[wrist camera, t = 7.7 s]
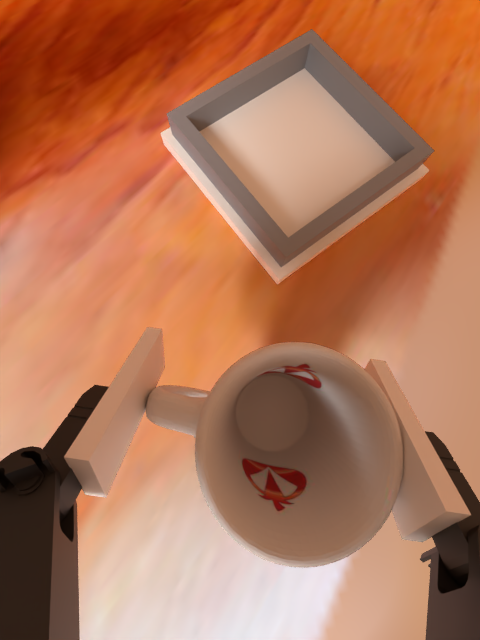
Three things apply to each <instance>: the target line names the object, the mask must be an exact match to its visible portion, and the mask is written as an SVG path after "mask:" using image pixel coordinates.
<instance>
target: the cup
mask: <svg viewBox="0 0 480 640" xmlns="http://www.w3.org/2000/svg"><path fill="white" fill-rule="evenodd" d="M146 415H147V418H148V419H149V420H150V421H151V422H153V423H154V424H156V425H159V426H161V427H164V428H167V429H171V430H175V431H178V432H182V433H186V434H189V435H193V436H194V437H195V438H196V439H195V461H196V470H197V475H198V480H199V483H200V487H201V490H202V493H203V495H204V498H205V500H206V502H207V504H208V506H209V508H210V510H211V512H212V514H213V515H214V517H215V519H216V520H217V521H218V523H219V524H220V525H221V527H222V528H223V529H224V530H225V531H226V532H227V534H228V535H229V536H231V537H232V538H233V539H234V540H235V541H236V542H237V543H238V544H239V545H241V546H242V547H243V548H245V549H246V550H248V551H249V552H251V553H253V554H254V555H256V556H258V557H260V558H262V559H264V560H267V561H270V562H273V563H276V564H279V565H284V566H289V567H304V568H305V567H317V566H322V565H327V564H330V563H333V562H336V561H339V560H341V559H343V558H345V557H348V556H349V555H351V554H352V553H354V552H356V551H357V550H359V549H360V548H361V547H363V546H364V545H365V544H366V543H367V542H369V541H370V540H371V539H372V538H373V537H374V535H375V534H376V533H377V532H378V531H379V530H380V529H381V527H382V525H383V524H384V523H385V521H386V520H387V518H388V516H389V515H390V512H391V510H392V508H393V506H394V504H395V502H396V499H397V496H398V493H399V489H400V485H401V480H402V474H403V444H402V438H401V432H400V428H399V424H398V421H397V418H396V415H395V413H394V411H393V408H392V406H391V404H390V402H389V400H388V399H387V397H386V395H385V394H384V392H383V391H382V389H381V388H380V386H379V385H378V384H377V382H376V381H375V380H374V379H373V378H372V377H371V375H370V374H369V373H368V372H367V371H365V370H364V369H363V368H362V367H361V366H360V365H358V364H357V363H356V362H355V361H353V360H352V359H350V358H348V357H347V356H345V355H344V354H342V353H339V352H337V351H335V350H333V349H330V348H328V347H325V346H321V345H317V344H313V343H306V342H283V343H277V344H272V345H268V346H265V347H262V348H260V349H257V350H255V351H253V352H251V353H249V354H247V355H246V356H244V357H242V358H241V359H240V360H238V361H237V362H236V363H234V364H233V365H232V366H231V367H230V368H229V369H228V370H227V371H226V372H225V373H224V374H223V375H222V376H221V377H220V378H219V380H218V381H217V382H216V383H215V385H214V387H213V388H212V390H211V391H210V392H209V391H205V390H200V389H195V388H190V387H183V386H173V385H163V386H158V387H156V388H154V389H153V390H152V391H151V393H150V395H149V397H148V400H147V405H146Z"/></svg>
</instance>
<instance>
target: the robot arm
mask: <svg viewBox="0 0 480 640" xmlns="http://www.w3.org/2000/svg"><path fill="white" fill-rule="evenodd" d="M164 367H165V360H164V347H163V334H162V329H158V328H151V327H147V328H146V330H145V332H144V333H143V335H142V336H141V338H140V339H139V341H138V342H137V344H136V346H135V347H134V349H133V350H132V352H131V353H130V355H129V356H128V358H127V360H126V361H125V363H124V364H123V366H122V367H121V369H120V370H119V372H118V374H117V375H116V377H115V378H114V380H113V381H112V383H111V385H110V386H109V387H106V386H99V385H94V386H93V387H92V388H90V389H89V390H88V391H86V392H85V393H84V394H83V395H82V396H81V397H80V399H79V400H78V402H77V403H76V404H75V407H74V408H72V410H71V411H70V413H69V414H68V417H66V418H65V419H64V421H63V422H62V424H61V425H60V426H59V428H58V429H57V430H56V432H55V433H54V435H53V436H52V437H51V439H50V440H49V441H48V443H47V444H46V446H45V447H44V448H43V450H42V449H41V448H39V447H33V446H32V447H26V448H22V449H19V450H17V451H15V452H13V453H11V454H10V455H8V456H7V457H6V458H4V459H3V460H2V461H0V640H79V589H78V535H77V503H76V498H77V496H78V494H79V492H80V491H81V489H82V490H83V491H84V493H85V495H92V496H99V497H107V495H108V492H109V490H110V488H111V486H112V483H113V481H114V479H115V477H116V475H117V472H118V470H119V468H120V466H121V463H122V461H123V459H124V457H125V454H126V452H127V450H128V448H129V446H130V443H131V441H132V439H133V437H134V434H135V432H136V430H137V428H138V425H139V423H140V421H141V419H142V417H143V414H144V412H145V410H146V405H147V400H148V397H149V395H150V393H151V391H152V390H153V389H154V388H156V385H157V383H158V381H159V379H160V376H161V374H162V372H163V370H164ZM364 370H365V371H367V372H368V373H369V374H370V375H371V377H372V378H373V379H374V380H375V381H376V382H377V384H378V385H379V386H380V388H381V389H382V391H383V392H384V394H385V395H386V397H387V399H388V400H389V402H390V404H391V406H392V408H393V411H394V413H395V415H396V418H397V421H398V424H399V428H400V432H401V438H402V444H403V474H402V480H401V485H400V489H399V493H398V496H397V499H396V502H395V504H394V506H393V508H392V512H393V515H394V518H395V521H396V524H397V527H398V529H399V532H400V535H401V538H402V539H405V540H411V541H419V542H423V541H425V540H427V539H429V538H431V537H432V538H433V540H434V543H435V545H436V547H434V548H432V549H430V550H429V551H426V552H425V553H423V554H422V555H421V558H420V560H421V561H422V562H425V561H427V560H429V559H431V563H430V564H429V565H428V566H429V567H430V568H431V570H430V585H429V599H428V613H427V629H426V640H480V502H479V500H478V499H477V497H476V495H475V494H474V492H473V491H472V489H471V487H470V485H469V484H468V482H467V480H466V479H465V477H464V476H463V474H462V473H461V472H460V469H459V467H458V466H457V464H456V462H454V461H453V457H452V456H451V454H450V452H449V451H448V449H447V448H446V446H445V445H444V443H442V441H441V440H440V439H439V438H438V437H437V436H436V435H435V434H434V433H433V432H426V431H424V430H423V428H422V426H421V424H420V422H419V421H418V419H417V417H416V415H415V413H414V412H413V410H412V408H411V406H410V405H409V403H408V401H407V399H406V397H405V396H404V394H403V392H402V390H401V388H400V387H399V385H398V383H397V381H396V380H395V378H394V376H393V374H392V372H391V371H390V369H389V367H388V365H387V363H386V362H385V361H381V360H374V359H370V361H369V363H368V364H367V366H366V368H365V369H364Z"/></svg>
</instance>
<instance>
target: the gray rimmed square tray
mask: <svg viewBox="0 0 480 640" xmlns="http://www.w3.org/2000/svg"><path fill="white" fill-rule="evenodd" d="M167 117H168V120H169V124H170V128H168V129H166V130H165V131H163V132H161V136H162V140H163V143H164V145H165V146H166V147H167V149H168V150H169V151H170V152H171V153H172V155H173V156H174V157H175V158H176V160H177V161H178V162H179V163H180V165H181V166H182V167H183V168H184V170H185V171H186V172H187V173H188V175H189V176H190V177H191V178H192V180H193V181H194V182H195V183H196V184H197V186H198V187H199V188H200V189H201V191H202V192H203V193H204V194H205V196H206V197H207V198H208V199H209V201H210V202H211V203H212V204H213V206H214V207H215V208H216V209H217V211H218V212H219V213H220V214H221V215H222V217H223V218H224V219H225V220H226V222H227V223H228V224H229V225H230V227H231V228H232V229H233V230H234V232H235V233H236V234H237V235H238V237H239V238H240V239H241V240H242V241H243V243H244V244H245V245H246V246H247V248H248V249H249V250H250V251H251V253H252V254H253V255H254V256H255V258H256V259H257V260H258V261H259V263H260V264H261V265H262V266H263V268H264V269H265V270H266V271H267V272H268V274H269V275H270V276H271V277H272V279H273V280H274V281H275V282H276V284H279V283H280V282H282V281H283V280H284V279H286V278H287V277H288V276H290V275H291V274H292V273H294V272H295V271H297V270H298V269H299V268H301V267H302V266H303V265H305V264H306V263H308V262H309V261H310V260H312V259H313V258H314V257H316V256H317V255H318V254H320V253H321V252H323V251H324V250H325V249H327V248H328V247H329V246H331V245H332V244H333V243H335V242H336V241H338V240H339V239H340V238H342V237H343V236H344V235H346V234H347V233H349V232H350V231H351V230H353V229H354V228H355V227H357V226H358V225H359V224H361V223H362V222H364V221H365V220H366V219H368V218H369V217H370V216H372V215H373V214H374V213H376V212H377V211H379V210H380V209H381V208H383V207H384V206H385V205H387V204H388V203H390V202H391V201H392V200H394V199H395V198H396V197H398V196H399V195H400V194H402V193H403V192H405V191H406V190H407V189H409V188H410V187H411V186H413V185H414V184H415V183H417V182H418V181H420V180H421V179H422V178H423V177H424V176H425V175H426V174H427V173H428V172H429V171H430V170H429V169H428V168H427V167H426V166H425V165H424V164H423V163H424V162H425V160H426V159H427V158H428V157H429V156H430V155H431V154H432V153H433V152H434V150H433V149H432V148H431V147H430V146H429V145H428V144H427V143H426V142H425V141H424V140H423V139H422V138H421V137H420V136H419V135H418V134H417V133H416V132H415V131H414V130H413V129H412V128H411V127H410V126H409V125H408V124H407V123H406V122H405V121H404V120H403V119H402V118H401V117H400V116H399V115H398V114H397V113H396V112H395V111H394V110H393V109H392V108H391V107H390V106H389V105H388V104H387V103H386V102H385V101H384V100H383V99H382V98H381V97H380V96H379V95H378V94H377V93H376V92H375V91H374V90H373V89H372V88H371V87H370V86H369V85H368V84H367V83H366V82H365V81H364V80H363V79H362V78H361V77H360V76H359V75H358V74H357V73H356V72H355V71H354V70H353V69H352V68H351V67H350V66H349V65H348V64H347V63H346V62H345V61H344V60H343V59H342V58H341V57H340V56H339V55H338V54H337V53H336V52H335V51H334V50H333V49H332V48H330V47H329V46H328V45H327V44H326V43H325V42H324V41H323V40H322V39H321V38H320V37H319V36H318V35H317V34H316V33H315V32H314V31H313V30H312V29H311V30H310V31H308V32H306V33H305V34H303V35H301V36H299V37H298V38H296V39H294V40H293V41H291V42H289V43H287V44H286V45H284V46H282V47H280V48H279V49H277V50H275V51H274V52H272V53H270V54H268V55H267V56H265V57H263V58H262V59H260V60H258V61H256V62H255V63H253V64H251V65H250V66H248V67H246V68H244V69H243V70H241V71H239V72H237V73H236V74H234V75H232V76H231V77H229V78H227V79H225V80H224V81H222V82H220V83H219V84H217V85H215V86H213V87H212V88H210V89H208V90H206V91H205V92H203V93H201V94H200V95H198V96H196V97H194V98H193V99H191V100H189V101H188V102H186V103H184V104H182V105H181V106H179V107H177V108H176V109H174V110H172V111H170V112H169V113H167Z"/></svg>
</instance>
